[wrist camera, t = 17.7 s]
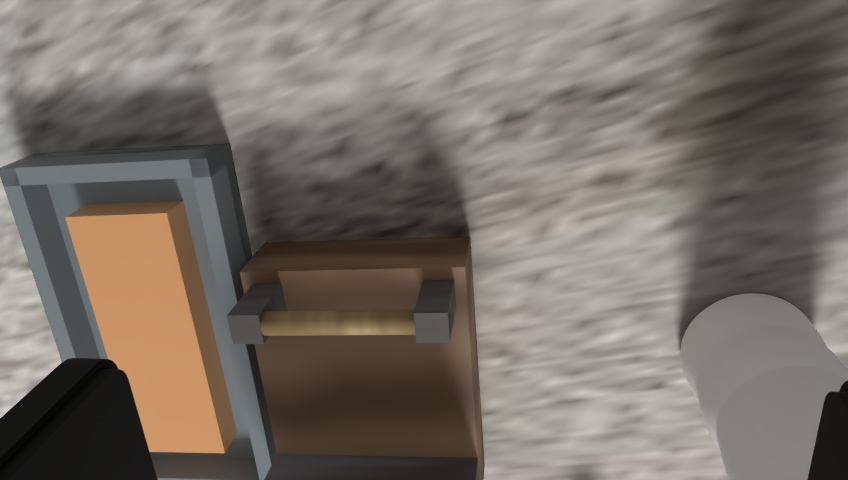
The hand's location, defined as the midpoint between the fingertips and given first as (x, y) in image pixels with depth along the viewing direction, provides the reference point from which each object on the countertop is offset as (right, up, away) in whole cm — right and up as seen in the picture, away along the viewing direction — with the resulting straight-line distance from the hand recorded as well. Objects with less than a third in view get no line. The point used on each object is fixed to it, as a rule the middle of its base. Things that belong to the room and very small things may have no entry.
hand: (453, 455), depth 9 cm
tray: (-16, -2, +33) cm, 37 cm away
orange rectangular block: (-16, -2, +32) cm, 36 cm away
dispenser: (-3, -4, +32) cm, 33 cm away
